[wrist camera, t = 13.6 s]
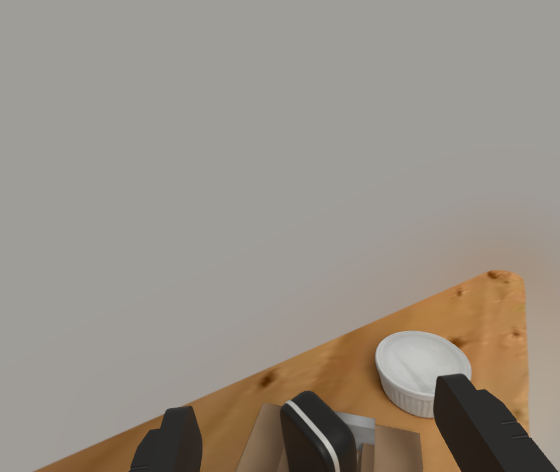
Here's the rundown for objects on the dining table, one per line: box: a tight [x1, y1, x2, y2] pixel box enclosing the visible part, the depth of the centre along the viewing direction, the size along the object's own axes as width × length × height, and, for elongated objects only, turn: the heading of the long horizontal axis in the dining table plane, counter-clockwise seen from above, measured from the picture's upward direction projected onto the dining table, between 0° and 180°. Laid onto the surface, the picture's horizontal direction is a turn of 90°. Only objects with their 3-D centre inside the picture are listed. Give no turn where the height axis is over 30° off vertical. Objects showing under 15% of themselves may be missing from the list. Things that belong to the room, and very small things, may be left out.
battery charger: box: [280, 391, 357, 472], centre depth 29 cm, size 7×4×11 cm, turn 35°
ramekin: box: [375, 331, 471, 418], centre depth 42 cm, size 11×11×5 cm
